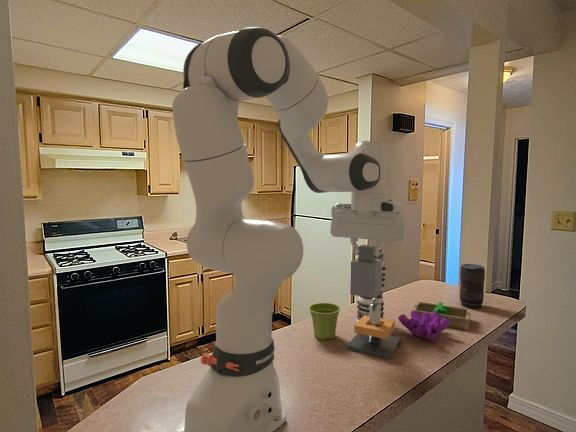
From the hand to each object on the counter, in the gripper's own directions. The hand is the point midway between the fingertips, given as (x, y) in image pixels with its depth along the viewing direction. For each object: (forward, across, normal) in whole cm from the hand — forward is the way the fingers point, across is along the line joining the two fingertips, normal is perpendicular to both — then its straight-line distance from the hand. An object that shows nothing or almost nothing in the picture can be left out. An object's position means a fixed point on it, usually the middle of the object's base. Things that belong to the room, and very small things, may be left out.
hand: (366, 255), depth 98 cm
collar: (+22, +2, +4) cm, 22 cm away
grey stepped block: (+10, 0, 0) cm, 10 cm away
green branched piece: (+25, +16, +33) cm, 44 cm away
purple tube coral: (+26, +13, +18) cm, 34 cm away
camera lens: (+25, +24, +53) cm, 63 cm away
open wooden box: (+25, +16, +33) cm, 44 cm away
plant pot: (+26, -13, +3) cm, 30 cm away
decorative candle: (+26, -4, +20) cm, 33 cm away
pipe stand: (+26, +2, +4) cm, 26 cm away
